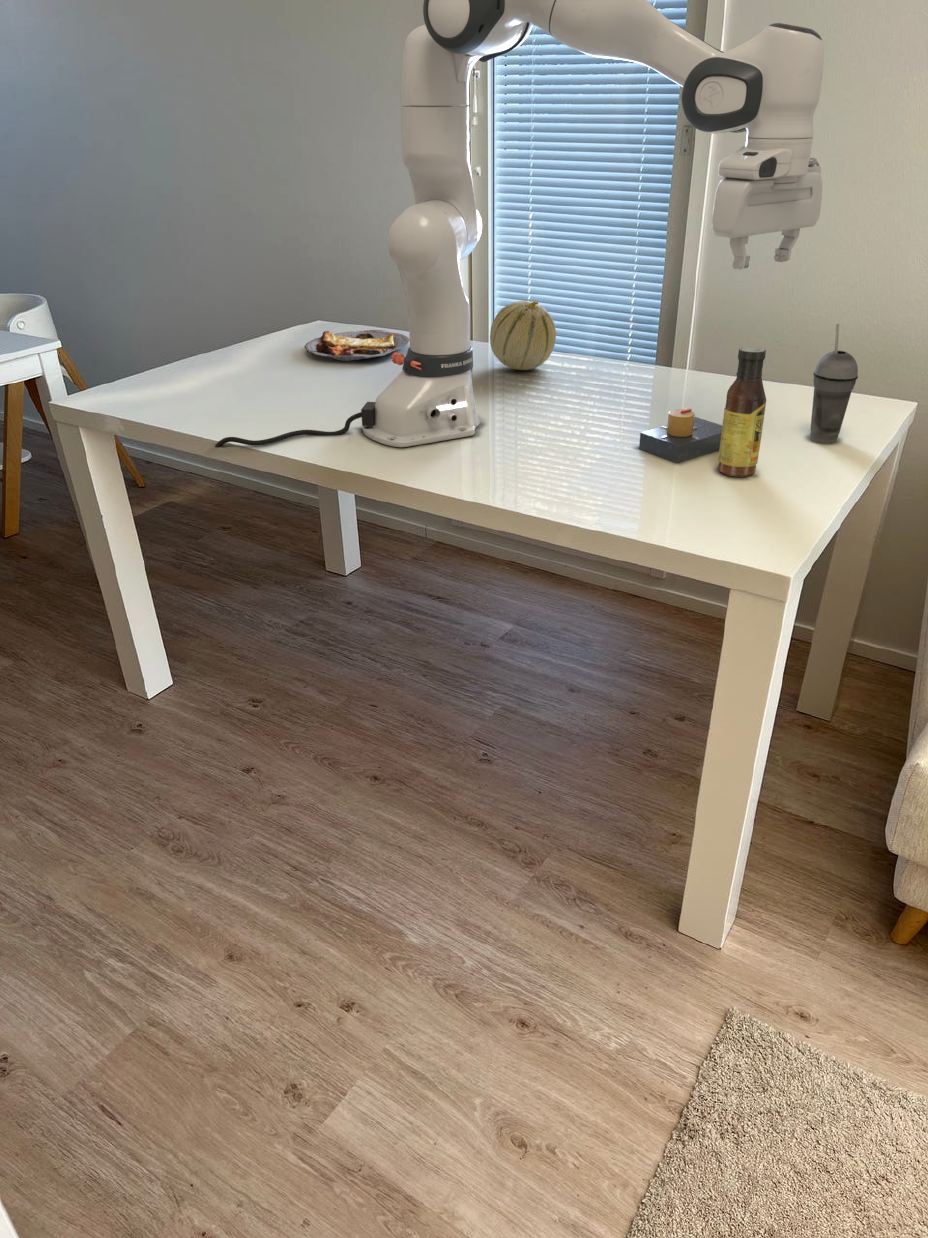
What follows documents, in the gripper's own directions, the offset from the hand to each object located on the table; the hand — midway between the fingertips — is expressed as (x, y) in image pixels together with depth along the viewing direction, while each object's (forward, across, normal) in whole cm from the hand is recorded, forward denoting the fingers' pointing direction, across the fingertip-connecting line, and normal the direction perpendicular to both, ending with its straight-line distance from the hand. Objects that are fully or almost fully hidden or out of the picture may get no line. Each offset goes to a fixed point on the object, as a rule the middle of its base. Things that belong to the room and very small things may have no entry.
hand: (761, 264), depth 136 cm
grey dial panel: (+32, -2, -12) cm, 34 cm away
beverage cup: (+32, -24, 0) cm, 40 cm away
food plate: (+33, +9, -106) cm, 112 cm away
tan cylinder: (+29, 0, -12) cm, 31 cm away
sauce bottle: (+32, 0, +1) cm, 32 cm away
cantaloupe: (+32, -12, -70) cm, 78 cm away
